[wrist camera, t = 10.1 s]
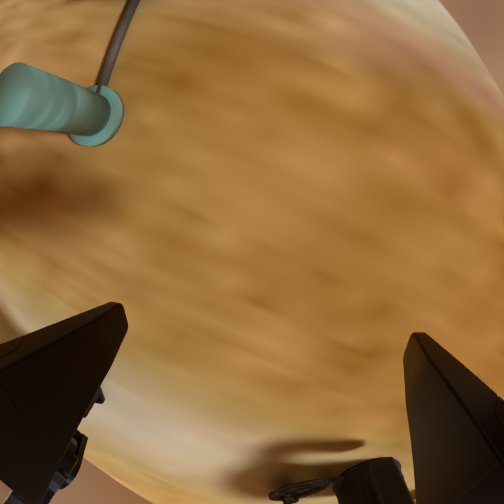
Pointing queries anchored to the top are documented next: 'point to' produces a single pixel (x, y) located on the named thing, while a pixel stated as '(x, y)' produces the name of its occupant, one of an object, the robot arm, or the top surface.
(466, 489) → the robot arm
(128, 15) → the tethered block
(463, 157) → the top surface
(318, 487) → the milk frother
